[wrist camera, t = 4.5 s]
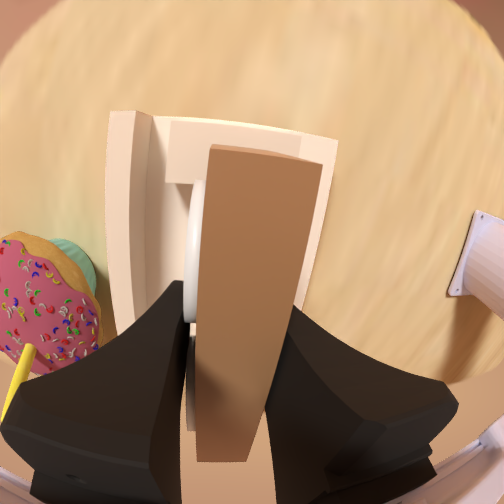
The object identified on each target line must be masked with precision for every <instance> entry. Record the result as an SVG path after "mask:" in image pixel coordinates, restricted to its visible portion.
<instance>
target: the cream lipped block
mask: <svg viewBox="0 0 504 504" xmlns="http://www.w3.org/2000/svg"><path fill="white" fill-rule="evenodd" d="M212 144H219V145H229V146H238V147H246V148H254V149H261V150H268V151H273V152H277V153H281V154H285V155H289V156H293V157H297V158H301V159H305V160H308V161H312V162H316V163H319V164H323V168H322V174H321V179H320V184H319V190H318V195H317V200H316V205H315V210H314V215H313V220H312V225H311V230H310V235H309V239H308V244H307V248H306V253H305V257H304V262H303V266H302V270H301V275H300V279H299V283H298V287H297V291H296V295H295V299H294V303H293V304H294V305H295V306H296V307H297V308H298V309H299V310H300V311H301V310H302V306H303V303H304V299H305V295H306V291H307V287H308V284H309V280H310V276H311V272H312V268H313V264H314V260H315V255H316V251H317V247H318V243H319V238H320V234H321V229H322V225H323V220H324V215H325V211H326V206H327V201H328V196H329V191H330V186H331V181H332V175H333V170H334V164H335V159H336V153H337V147H338V140H334V139H330V138H326V137H321V136H317V135H312V134H308V133H303V132H298V131H292V130H287V129H282V128H276V127H270V126H263V125H257V124H250V123H242V122H234V121H225V120H215V119H204V118H190V117H171V116H151V115H148V114H145V113H142V112H139V111H136V110H127V111H110V119H109V128H108V139H107V152H106V172H105V225H106V245H107V259H108V270H109V280H110V289H111V297H112V304H113V311H114V317H115V323H116V329H117V335H120V334H121V333H122V332H124V331H125V330H126V329H127V328H128V327H130V326H131V325H132V324H133V323H134V322H135V321H136V320H137V319H138V318H139V317H140V316H142V315H143V314H144V313H145V312H146V311H147V310H148V309H149V308H150V307H151V305H152V304H153V303H154V302H155V301H156V300H157V299H158V298H159V297H160V296H161V294H162V293H163V292H164V291H165V290H166V288H167V287H168V286H169V285H170V283H171V282H172V281H174V280H182V281H184V262H185V248H186V236H187V226H188V217H189V210H190V203H191V196H192V190H193V186H194V182H195V180H206V176H207V167H208V159H209V150H210V147H211V145H212ZM190 335H196V323H190Z"/></svg>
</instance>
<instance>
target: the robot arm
mask: <svg viewBox="0 0 504 504" xmlns="http://www.w3.org/2000/svg"><path fill="white" fill-rule="evenodd" d="M183 285H184V281H182V280H174V281H172V282H171V283H170V285H169V286H168V287H167V288H166V290H165V291H164V292H163V293H162V294H161V296H160V297H159V298H158V299H157V300H156V301H155V302H154V303H153V304H152V305H151V307H150V308H149V309H148V310H147V311H146V312H145V313H144V314H143V315H142V316H140V317H139V318H138V319H137V320H136V321H135V322H134V323H133V324H132V325H131V326H130V327H128V328H127V329H126V330H125V331H124V332H122V333H121V334H120V335H118V336H117V337H116V338H114V339H113V340H112V341H110V342H109V343H107V344H105V345H104V346H102V347H101V348H99V349H97V350H96V351H94V352H92V353H91V354H89V355H87V356H86V357H84V358H82V359H80V360H78V361H76V362H74V363H72V364H70V365H68V366H65V367H63V368H61V369H59V370H56V371H54V372H51V373H48V374H46V375H43V376H40V377H37V378H34V379H31V380H28V381H25V382H22V383H20V385H19V387H18V389H17V390H16V392H15V394H14V396H13V398H12V400H11V402H10V405H9V407H8V409H7V411H6V414H5V416H4V418H3V421H2V423H1V426H0V431H1V433H2V436H3V438H4V440H5V441H6V442H7V443H8V445H9V446H10V447H11V448H12V449H13V450H14V451H15V452H16V453H17V454H18V455H19V456H20V457H21V458H22V459H23V460H24V461H26V462H27V463H28V464H29V465H30V466H31V467H32V468H33V469H34V470H35V471H34V475H33V479H32V483H31V482H29V481H27V480H25V479H23V478H21V477H19V476H17V475H15V474H13V473H11V472H10V471H8V470H6V469H4V468H2V467H1V466H0V504H182V500H181V480H180V410H181V400H182V393H183V387H184V380H185V374H186V361H187V351H188V346H189V339H190V323H186V322H185V321H184V310H183ZM448 294H449V295H450V296H459V295H474V296H475V297H477V298H478V299H479V300H480V301H481V302H483V303H484V304H485V305H486V306H487V307H489V308H490V309H491V310H492V311H493V312H494V313H496V314H497V315H498V316H499V317H500V318H501V319H502V320H503V321H504V220H502V219H499V218H497V217H495V216H492V215H490V214H487V213H485V212H482V211H479V210H476V211H475V213H474V216H473V220H472V223H471V227H470V230H469V234H468V237H467V240H466V243H465V246H464V249H463V252H462V255H461V258H460V261H459V264H458V266H457V269H456V272H455V274H454V277H453V280H452V282H451V285H450V287H449V289H448ZM458 405H459V403H458V402H457V400H456V398H455V397H454V395H453V394H452V393H451V391H450V390H449V389H448V387H447V386H446V384H445V383H444V382H442V381H438V380H434V379H430V378H426V377H422V376H418V375H414V374H411V373H408V372H405V371H402V370H399V369H397V368H394V367H391V366H389V365H386V364H384V363H382V362H379V361H377V360H375V359H373V358H371V357H369V356H367V355H365V354H363V353H361V352H359V351H357V350H355V349H354V348H352V347H350V346H348V345H347V344H345V343H344V342H342V341H340V340H339V339H337V338H336V337H334V336H333V335H331V334H330V333H328V332H327V331H326V330H324V329H323V328H322V327H320V326H319V325H318V324H316V323H315V322H314V321H312V320H311V319H310V318H309V317H308V316H306V315H305V314H304V313H303V312H302V311H300V310H299V309H298V308H297V307H296V306H295V305H294V304H293V307H292V311H291V315H290V319H289V323H288V327H287V331H286V334H285V338H284V342H283V345H282V349H281V353H280V356H279V360H278V363H277V367H276V370H275V374H274V377H273V380H272V384H271V387H270V390H269V394H268V397H267V400H266V403H265V412H266V418H267V424H268V431H269V438H270V446H271V453H272V461H273V470H274V479H275V490H276V502H277V504H496V503H497V502H498V501H499V499H500V498H501V496H502V495H503V493H504V414H503V415H502V416H500V417H499V418H498V419H497V420H495V421H494V422H493V423H492V424H491V425H490V426H489V427H488V428H487V429H486V430H485V431H484V432H483V433H482V434H481V435H480V436H479V438H477V439H476V440H474V441H473V442H472V443H470V444H469V445H467V446H466V447H464V448H463V449H461V450H460V451H458V452H456V453H455V454H453V455H452V456H450V457H448V458H447V459H445V460H443V461H442V462H440V463H438V464H436V465H434V466H432V464H431V462H430V460H429V458H428V456H430V455H431V454H432V449H431V447H430V445H429V443H430V442H431V441H432V440H433V439H434V438H435V437H436V436H437V435H438V434H439V433H440V432H441V431H442V430H443V429H444V428H445V426H446V425H447V424H448V423H449V422H450V421H451V420H452V418H453V417H454V415H455V414H456V412H457V409H458Z"/></svg>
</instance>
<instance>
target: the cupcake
mask: <svg viewBox="0 0 504 504" xmlns="http://www.w3.org/2000/svg"><path fill="white" fill-rule="evenodd" d="M95 289H96V275H95V271H94V268H93V265H92V263H91V261H90V259H89V258H88V256H87V255H86V254H85V252H84V251H83V250H82V249H81V248H79V247H78V246H77V245H75V244H74V243H72V242H70V241H67V240H64V239H53V240H45V239H43V238H40V237H37V236H33V235H29V234H26V233H24V232H21V231H18V232H14V233H12V234H10V235H7V236H5V237H3V238H1V239H0V350H1V351H3V352H4V353H6V354H7V355H8V356H9V357H10V358H11V359H12V360H13V361H14V362H15V363H16V364H18V365H17V368H16V371H15V374H14V377H13V379H12V382H11V385H10V388H9V392H8V395H7V398H6V402H5V405H4V409H3V412H2V416H1V422H2V421H3V418H4V416H5V414H6V411H7V409H8V407H9V405H10V402H11V400H12V398H13V396H14V394H15V392H16V390H17V389H18V387H19V385H20V383H22V382H25V381H27V379H28V376H29V373H30V371H31V372H33V373H35V374H36V375H41V376H43V375H46V374H48V373H51V372H54V371H56V370H59V369H61V368H63V367H65V366H68V365H70V364H72V363H74V362H76V361H78V360H80V359H82V358H84V357H86V356H87V355H89V354H91V353H92V352H94V351H96V350H97V349H99V348H100V345H101V343H102V340H103V328H102V322H101V308H100V305H99V303H98V301H97V300H96V298H95ZM5 442H6V441H5ZM6 443H7V442H6Z"/></svg>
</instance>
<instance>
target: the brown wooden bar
mask: <svg viewBox="0 0 504 504" xmlns="http://www.w3.org/2000/svg"><path fill="white" fill-rule="evenodd" d="M322 168H323V164H319V163H316V162H312V161H308V160H305V159H301V158H297V157H293V156H289V155H285V154H281V153H277V152H273V151H268V150H261V149H254V148H246V147H238V146H229V145H219V144H212V145H211V147H210V150H209V159H208V167H207V176H206V180H195V182H194V186H193V190H192V196H191V203H190V210H189V217H188V226H187V236H186V248H185V262H184V285H183V310H184V321H185V322H186V323H196V335H190V339H189V346H188V351H187V361H186V421H187V431H196V450H197V451H196V452H197V462H246V460H247V458H248V455H249V452H250V449H251V446H252V443H253V440H254V437H255V434H256V431H257V428H258V425H259V422H260V419H261V416H262V413H263V410H264V407H265V403H266V400H267V397H268V394H269V390H270V387H271V384H272V380H273V377H274V374H275V370H276V367H277V363H278V360H279V356H280V353H281V349H282V345H283V342H284V338H285V334H286V331H287V327H288V323H289V319H290V315H291V311H292V307H293V303H294V299H295V295H296V291H297V287H298V283H299V279H300V275H301V270H302V266H303V262H304V257H305V253H306V248H307V244H308V239H309V235H310V230H311V225H312V220H313V215H314V210H315V205H316V200H317V195H318V190H319V184H320V179H321V174H322Z"/></svg>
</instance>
